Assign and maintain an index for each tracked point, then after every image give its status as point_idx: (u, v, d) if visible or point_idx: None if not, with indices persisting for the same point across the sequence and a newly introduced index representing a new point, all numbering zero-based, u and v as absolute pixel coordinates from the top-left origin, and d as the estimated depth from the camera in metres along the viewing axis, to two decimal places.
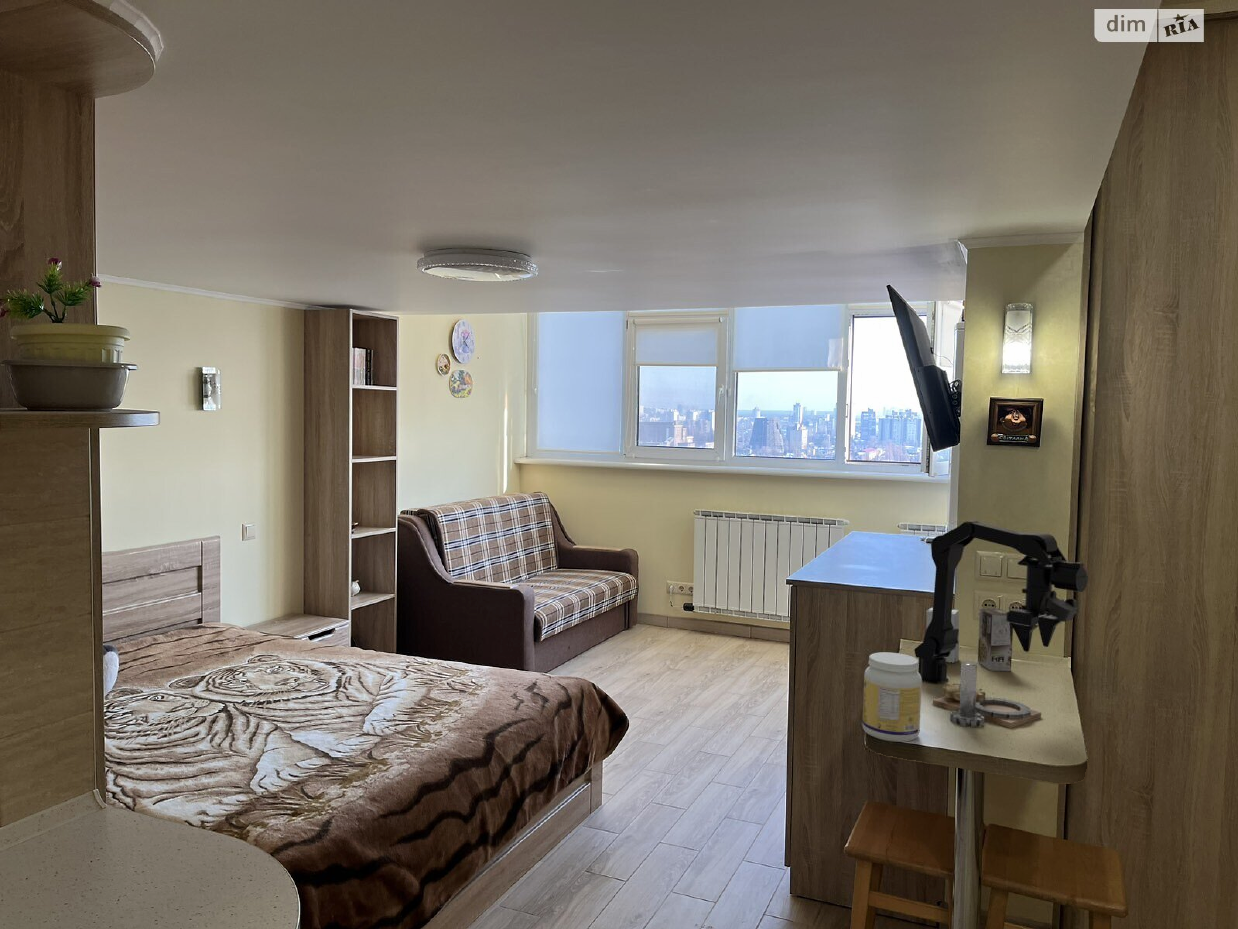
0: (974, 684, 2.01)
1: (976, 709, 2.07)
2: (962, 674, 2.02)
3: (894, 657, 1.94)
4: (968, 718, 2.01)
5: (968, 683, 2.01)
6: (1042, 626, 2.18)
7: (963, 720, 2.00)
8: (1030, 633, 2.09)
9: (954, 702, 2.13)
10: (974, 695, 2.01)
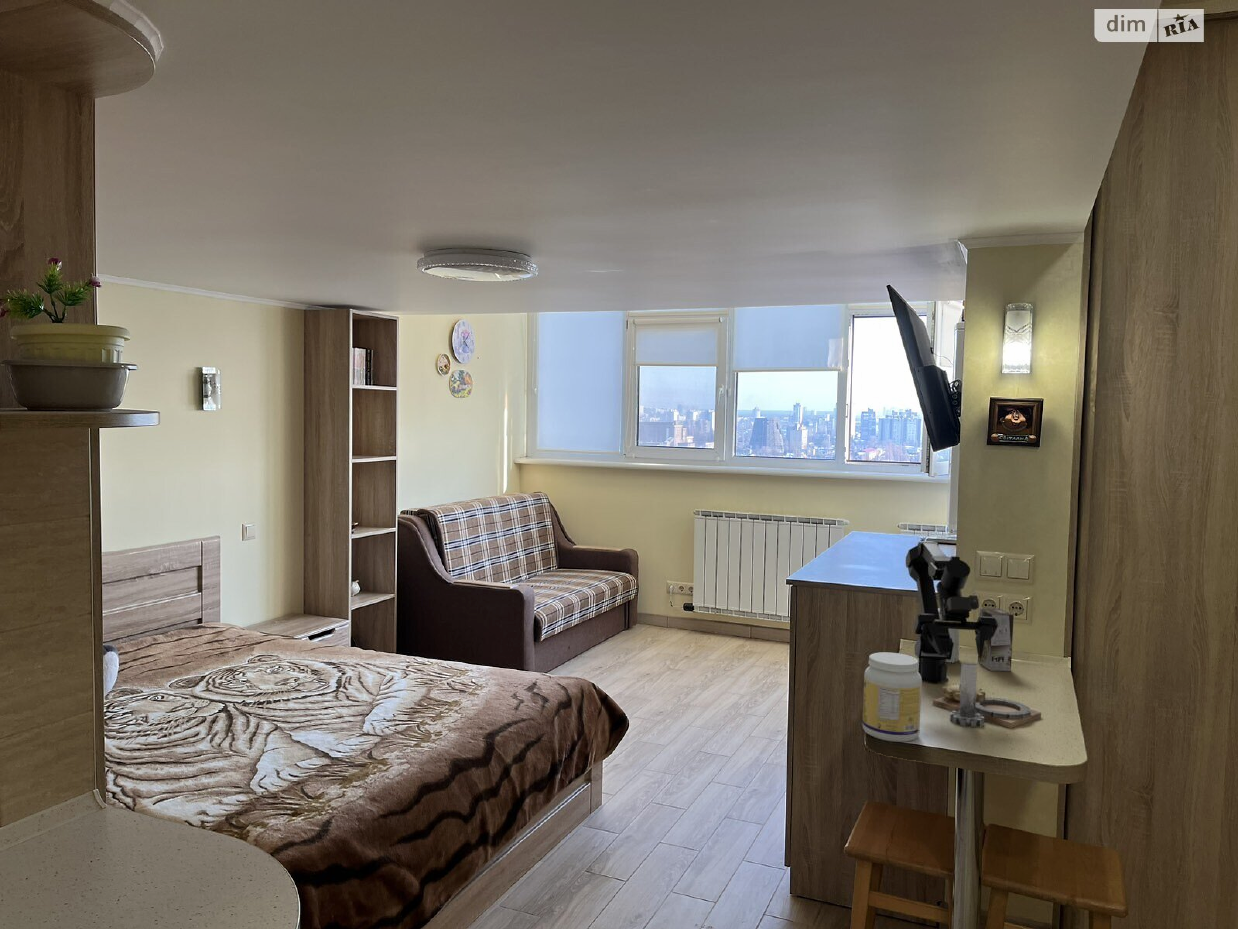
0: (974, 684, 2.01)
1: (976, 709, 2.07)
2: (962, 674, 2.02)
3: (894, 657, 1.94)
4: (968, 718, 2.01)
5: (968, 683, 2.01)
6: (977, 642, 2.14)
7: (963, 720, 2.00)
8: (934, 634, 2.13)
9: (954, 702, 2.13)
10: (974, 695, 2.01)
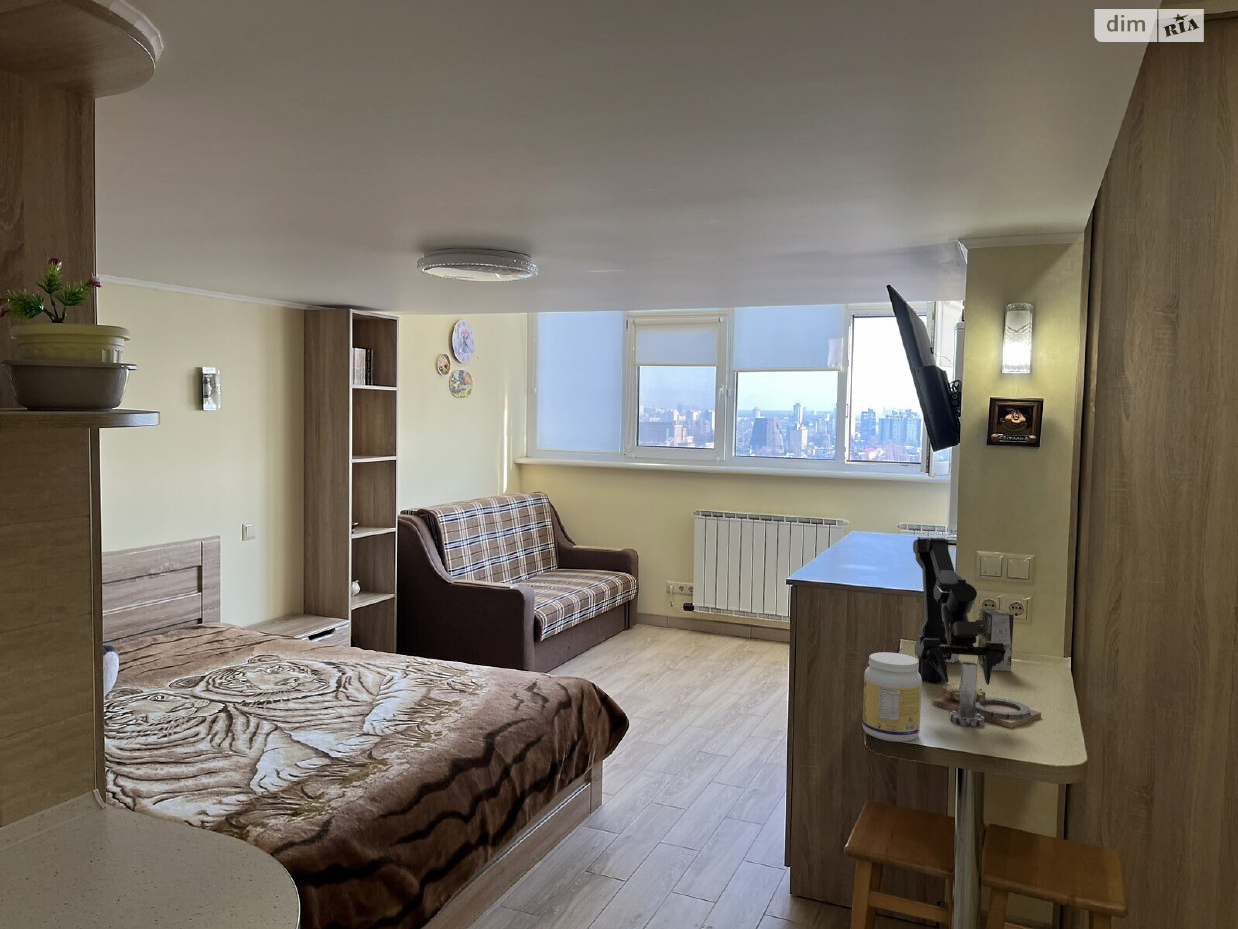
0: (974, 684, 2.01)
1: (976, 709, 2.07)
2: (962, 674, 2.02)
3: (894, 657, 1.94)
4: (968, 718, 2.01)
5: (968, 683, 2.01)
6: (985, 668, 2.07)
7: (963, 720, 2.00)
8: (939, 659, 2.06)
9: (954, 702, 2.13)
10: (974, 695, 2.01)
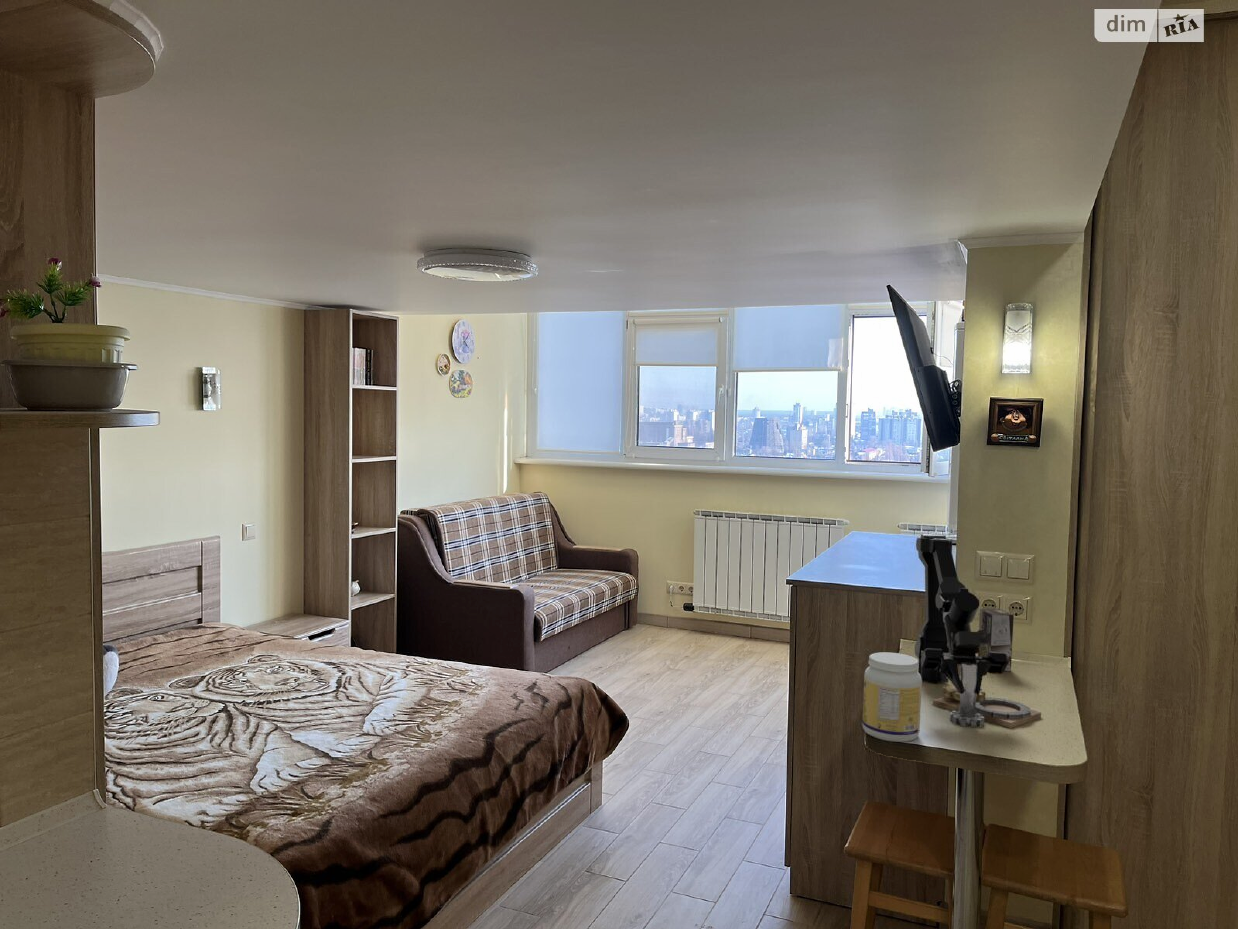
0: (974, 684, 2.01)
1: (976, 709, 2.07)
2: (962, 674, 2.02)
3: (894, 657, 1.94)
4: (968, 718, 2.01)
5: (968, 683, 2.01)
6: None
7: (963, 720, 2.00)
8: (954, 670, 2.04)
9: (954, 702, 2.13)
10: (974, 695, 2.01)
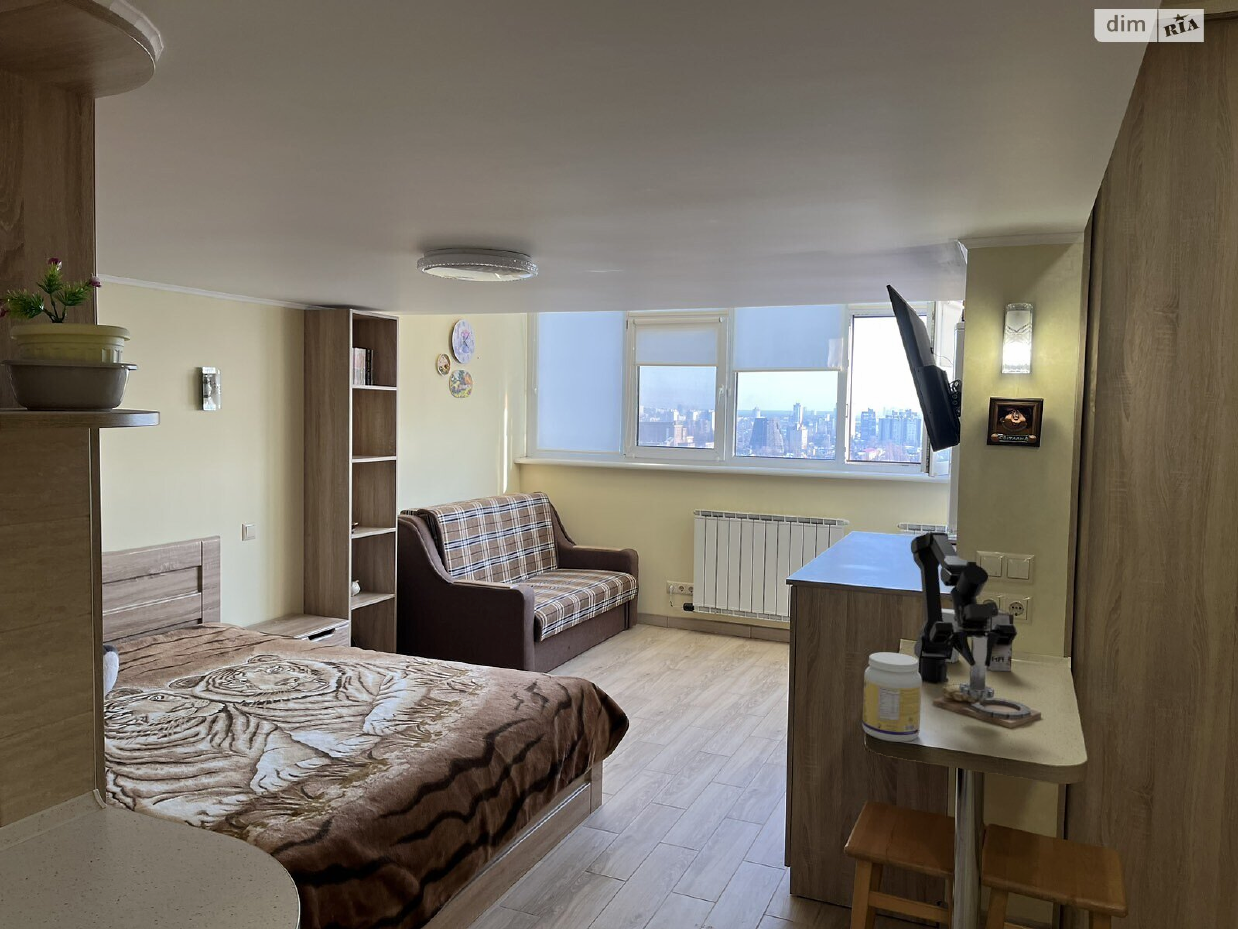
0: (985, 656, 2.02)
1: (976, 709, 2.07)
2: (973, 646, 2.03)
3: (894, 657, 1.94)
4: (979, 690, 2.02)
5: (979, 655, 2.02)
6: None
7: (975, 692, 2.01)
8: (964, 643, 2.05)
9: (954, 702, 2.13)
10: (985, 667, 2.02)
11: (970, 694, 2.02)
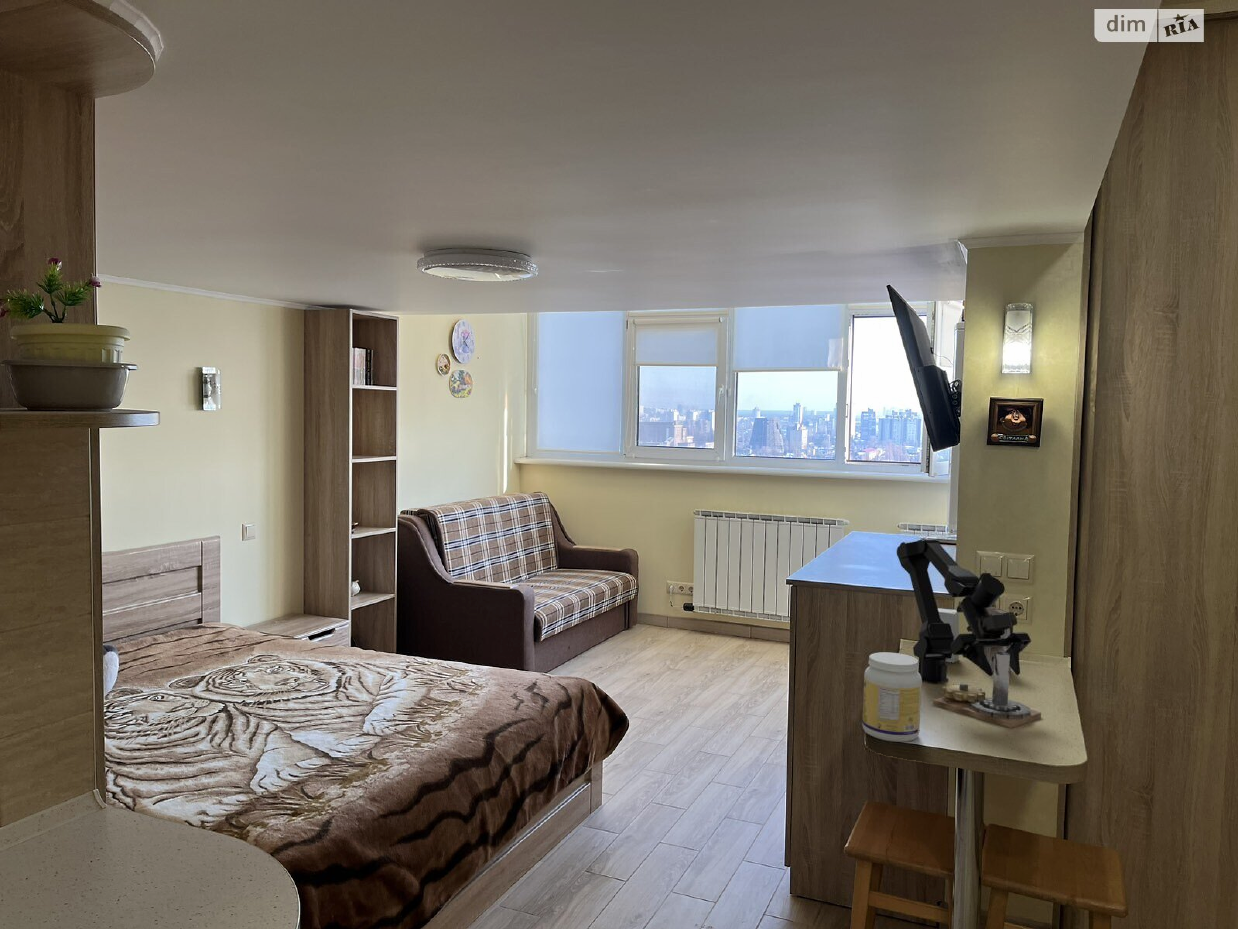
0: (1008, 673, 2.07)
1: (976, 709, 2.07)
2: (997, 664, 2.07)
3: (894, 657, 1.94)
4: (1004, 706, 2.06)
5: (1004, 672, 2.07)
6: None
7: (1002, 709, 2.05)
8: (981, 654, 2.08)
9: (954, 702, 2.13)
10: (1008, 683, 2.07)
11: None
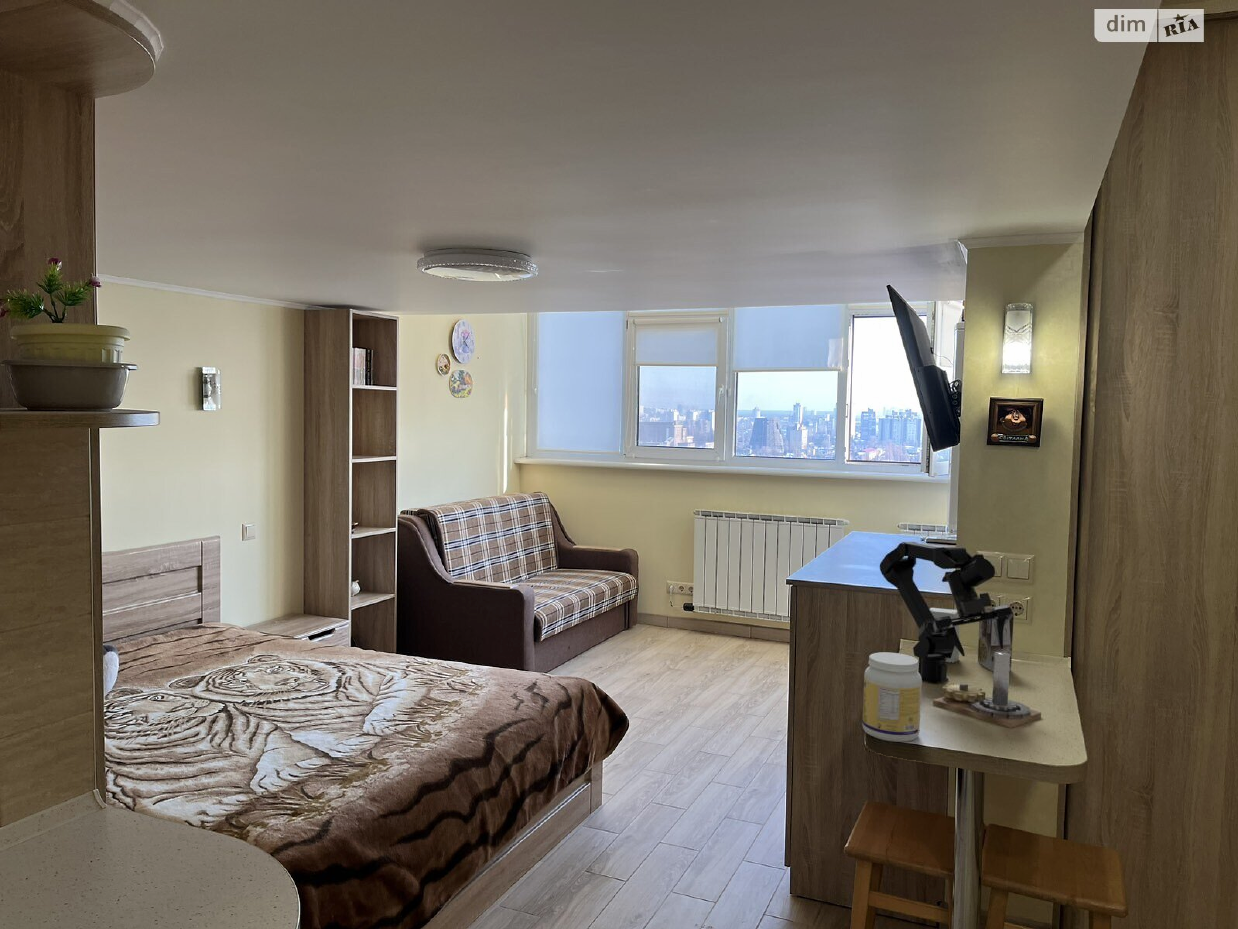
0: (1008, 673, 2.07)
1: (976, 709, 2.07)
2: (997, 664, 2.07)
3: (894, 657, 1.94)
4: (1004, 706, 2.06)
5: (1004, 672, 2.07)
6: (996, 631, 2.21)
7: (1002, 709, 2.05)
8: (953, 636, 2.20)
9: (954, 702, 2.13)
10: (1008, 683, 2.07)
11: None
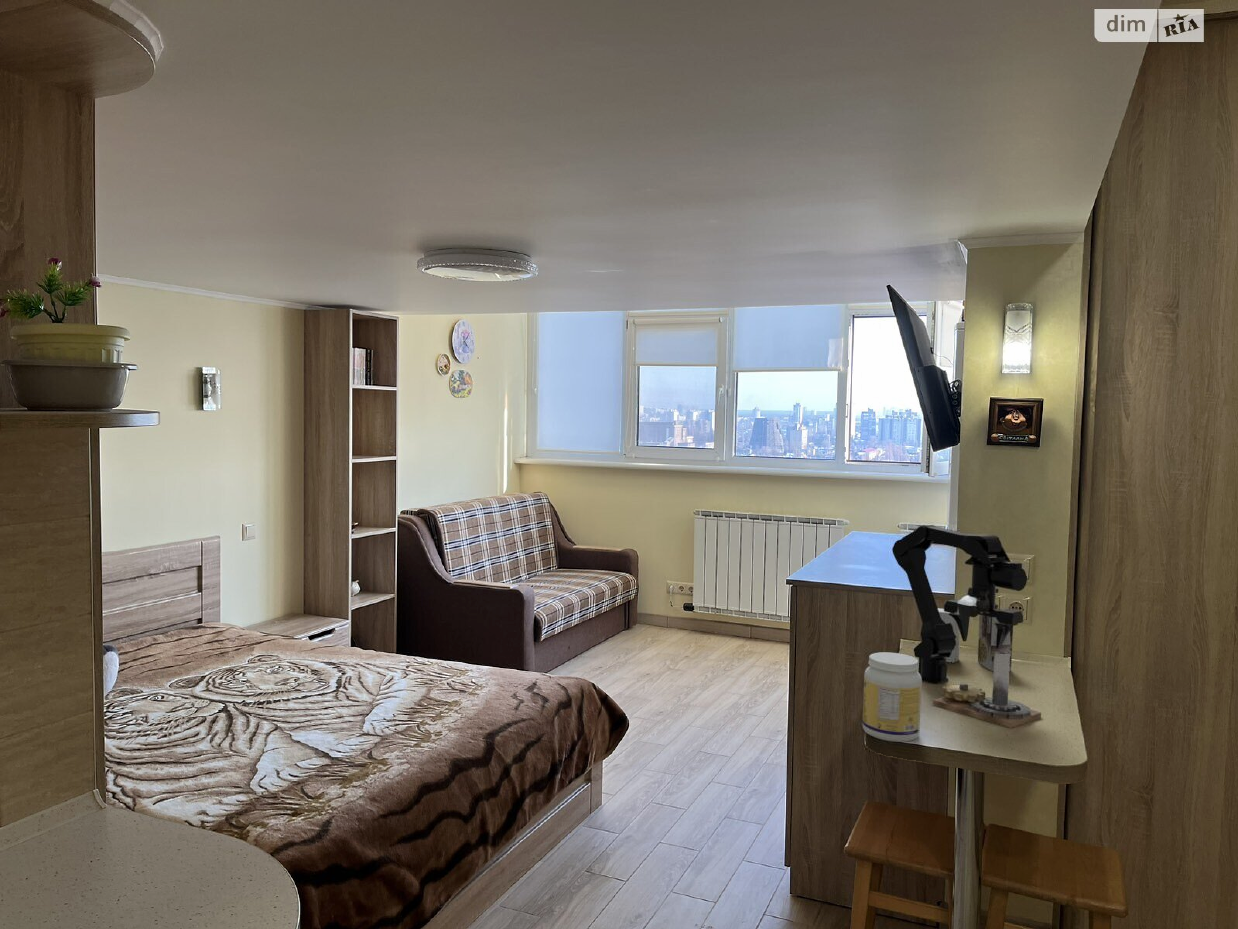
0: (1008, 673, 2.07)
1: (976, 709, 2.07)
2: (997, 664, 2.07)
3: (894, 657, 1.94)
4: (1004, 706, 2.06)
5: (1004, 672, 2.07)
6: None
7: (1002, 709, 2.05)
8: (958, 622, 2.27)
9: (954, 702, 2.13)
10: (1008, 683, 2.07)
11: None
